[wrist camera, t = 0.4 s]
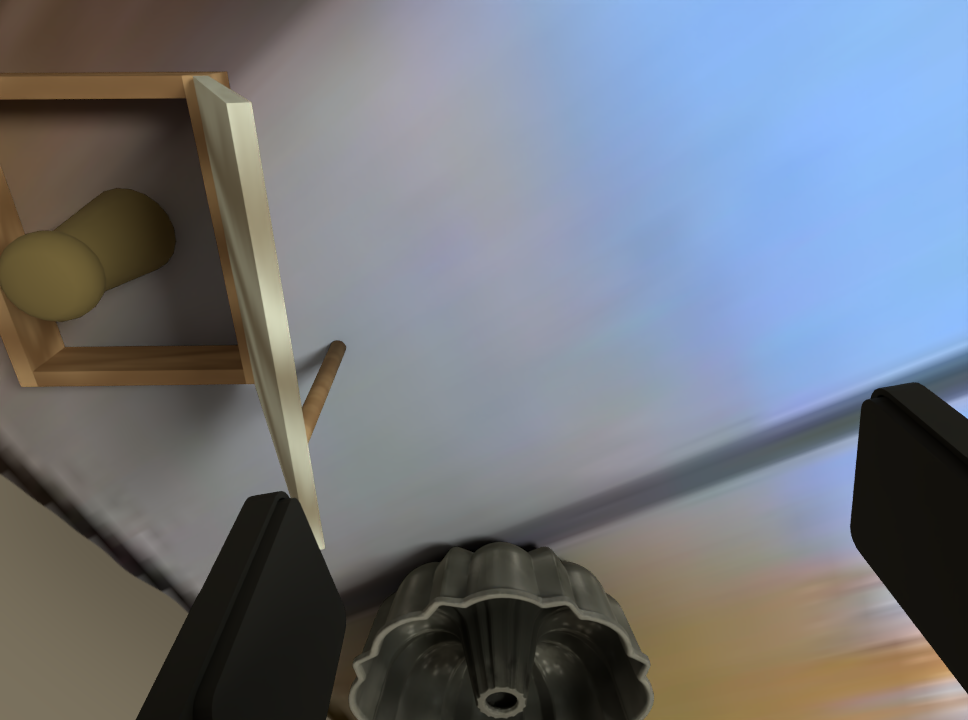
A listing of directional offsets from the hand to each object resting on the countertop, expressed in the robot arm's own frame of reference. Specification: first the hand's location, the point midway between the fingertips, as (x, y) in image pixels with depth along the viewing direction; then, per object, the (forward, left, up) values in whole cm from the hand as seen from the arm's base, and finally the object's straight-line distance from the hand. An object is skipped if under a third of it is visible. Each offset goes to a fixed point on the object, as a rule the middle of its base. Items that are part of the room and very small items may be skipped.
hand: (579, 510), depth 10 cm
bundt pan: (+44, 0, -36) cm, 57 cm away
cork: (+5, -26, -36) cm, 44 cm away
